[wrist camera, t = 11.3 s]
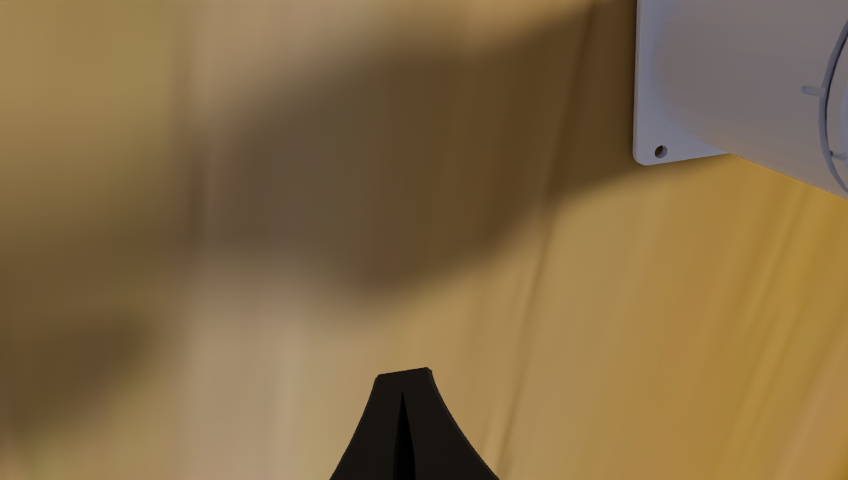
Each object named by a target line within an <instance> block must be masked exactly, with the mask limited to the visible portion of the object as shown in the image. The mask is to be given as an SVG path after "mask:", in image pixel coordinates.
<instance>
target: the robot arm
mask: <svg viewBox="0 0 848 480" xmlns="http://www.w3.org/2000/svg"><path fill="white" fill-rule="evenodd" d="M661 145H662V147H663V150H662V152H661V153H660V154H659V155H657V156H655V150H656V148H657V147H659V146H661ZM726 153H731V154H734V155H736V156H739V157H741V158H744V159H746V160H749V161H751V162H754V163H757V164H759V165H762V166H764V167H767V168H769V169H772V170H774V171H777V172H779V173H782V174H784V175H787V176H789V177H792V178H794V179H797V180H800V181H802V182H805V183H807V184H810V185H812V186H815V187H817V188H820V189H822V190H825V191H827V192H830V193H832V194H835V195H838V196H840V197H843V198H845V199H848V0H637V23H636V58H635V92H634V126H633V158H634V159H635V161H636V162H638V163H640V164H642V165H654V164H661V163H667V162H674V161H681V160H687V159H694V158H700V157H707V156H713V155H720V154H726ZM329 480H499V478H498V477H497V476H496V475H495V474H494V473H493V472H492V470H491V469H490V468H489V467H488V466H487V465H486V463H485V462H484V461H483V460H482V458H481V457H480V456H479V455H478V453H477V452H476V451H475V449H474V448H473V447H472V445H471V444H470V443H469V441H468V440H467V438H466V437H465V436H464V434H463V433H462V431H461V430H460V428H459V427H458V425H457V423H456V422H455V420H454V418H453V417H452V415H451V413H450V412H449V410H448V408H447V407H446V405H445V403H444V401H443V399H442V397H441V395H440V393H439V391H438V389H437V386H436V384H435V381H434V378H433V375H432V370H430V369H429V368H427V367H424V368H418V369H411V370H405V371H399V372H392V373H386V374H379V375H378V376H377V377H376V379H375V381H374V385H373V388H372V391H371V394H370V397H369V400H368V402H367V405H366V407H365V410H364V412H363V415H362V417H361V419H360V422H359V424H358V426H357V428H356V430H355V433H354V435H353V437H352V439H351V441H350V443H349V445H348V447H347V449H346V451H345V453H344V454H343V456H342V458H341V460H340V462H339V464H338V466H337V468H336V469H335V471H334V473H333V474H332V476H331V478H330V479H329Z"/></svg>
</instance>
